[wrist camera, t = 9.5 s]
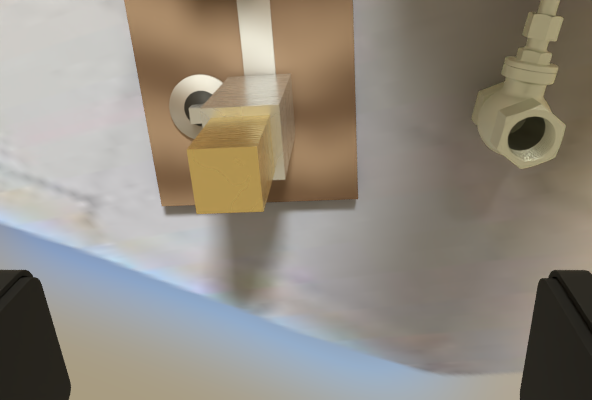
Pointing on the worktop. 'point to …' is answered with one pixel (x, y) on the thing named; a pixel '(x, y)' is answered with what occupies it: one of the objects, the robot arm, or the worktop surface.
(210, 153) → the block
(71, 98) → the worktop surface
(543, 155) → the valve
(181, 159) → the bolt plate
